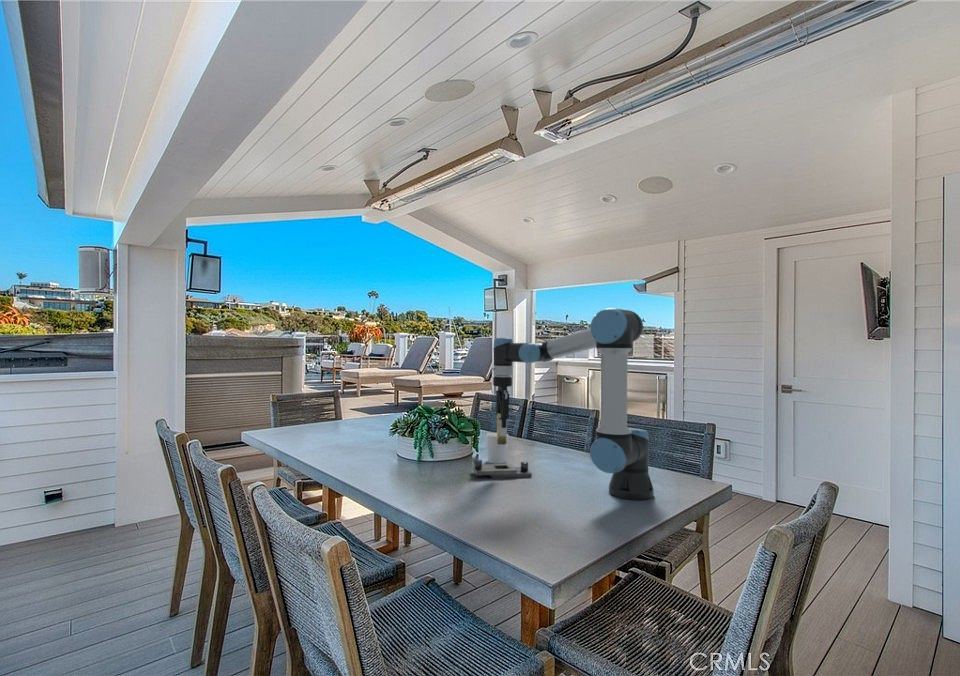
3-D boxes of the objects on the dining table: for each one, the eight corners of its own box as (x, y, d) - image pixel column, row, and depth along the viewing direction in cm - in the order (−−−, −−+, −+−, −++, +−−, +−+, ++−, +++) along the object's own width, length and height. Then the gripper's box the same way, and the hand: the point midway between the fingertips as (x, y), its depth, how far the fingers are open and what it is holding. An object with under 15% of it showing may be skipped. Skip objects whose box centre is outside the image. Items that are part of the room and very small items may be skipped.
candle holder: (508, 464, 208) (509, 436, 209) (486, 464, 209) (486, 436, 209) (507, 459, 218) (508, 432, 218) (486, 458, 218) (486, 432, 219)
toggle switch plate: (524, 470, 199) (524, 455, 199) (531, 477, 189) (531, 461, 189) (472, 472, 195) (472, 457, 195) (476, 479, 185) (476, 463, 185)
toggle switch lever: (505, 442, 195) (505, 412, 195) (507, 444, 191) (508, 414, 191) (495, 442, 194) (496, 412, 194) (498, 444, 190) (498, 414, 190)
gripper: (489, 374, 200) (488, 430, 200) (498, 377, 184) (497, 439, 183) (506, 374, 202) (505, 430, 201) (517, 377, 185) (516, 438, 185)
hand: (501, 434), depth 192 cm, fingers closed on toggle switch lever, 4 cm apart
